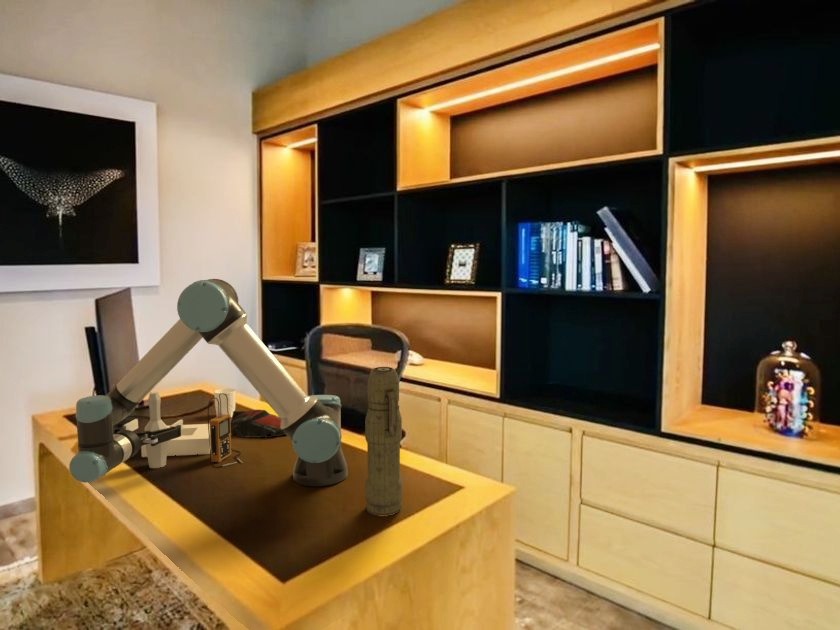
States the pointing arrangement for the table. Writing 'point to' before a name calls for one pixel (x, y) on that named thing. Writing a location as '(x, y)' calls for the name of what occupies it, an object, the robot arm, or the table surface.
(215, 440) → the multimeter
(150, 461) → the low poly bottle
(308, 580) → the table surface
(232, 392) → the white cup
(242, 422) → the drone shell
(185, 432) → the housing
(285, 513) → the table surface
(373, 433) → the thermos
